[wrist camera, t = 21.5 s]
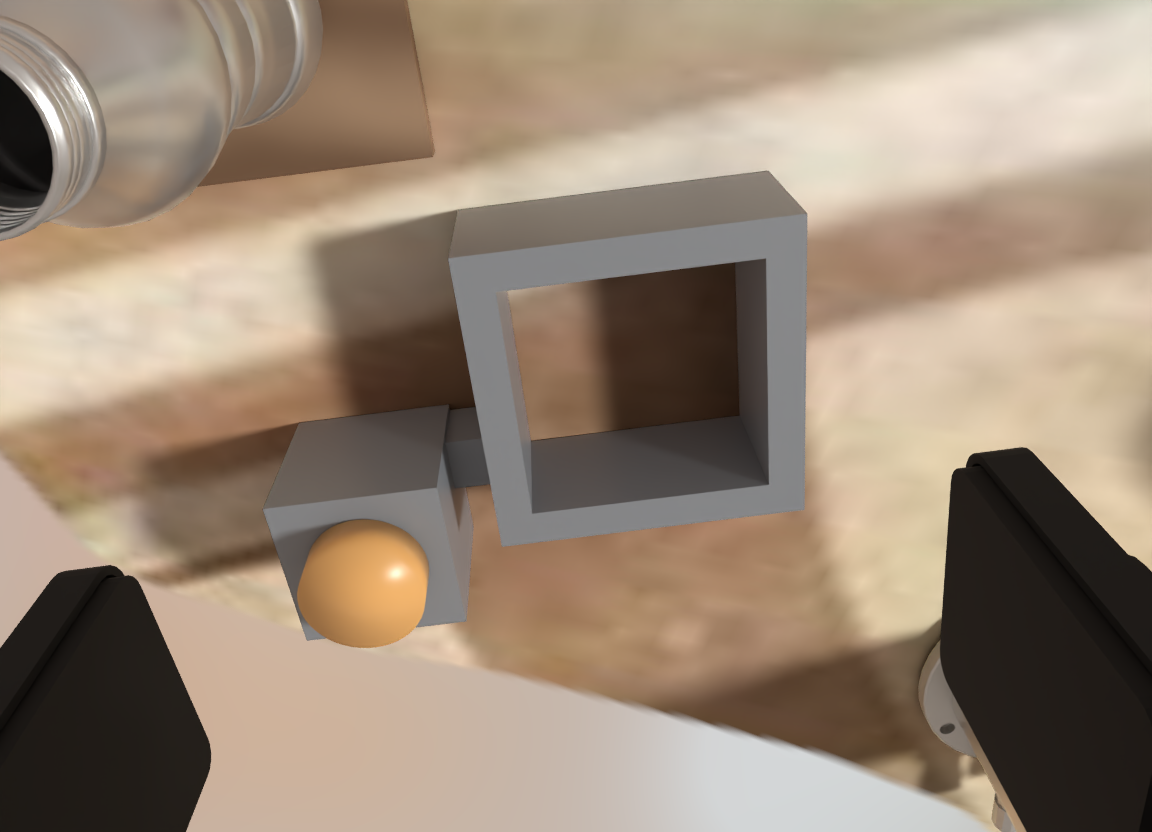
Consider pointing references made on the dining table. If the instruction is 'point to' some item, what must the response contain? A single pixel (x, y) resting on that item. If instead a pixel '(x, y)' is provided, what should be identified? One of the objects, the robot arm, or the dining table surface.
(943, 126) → the dining table surface
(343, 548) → the orange egg-shaped ball
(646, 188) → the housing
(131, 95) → the plastic bottle
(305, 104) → the pad
